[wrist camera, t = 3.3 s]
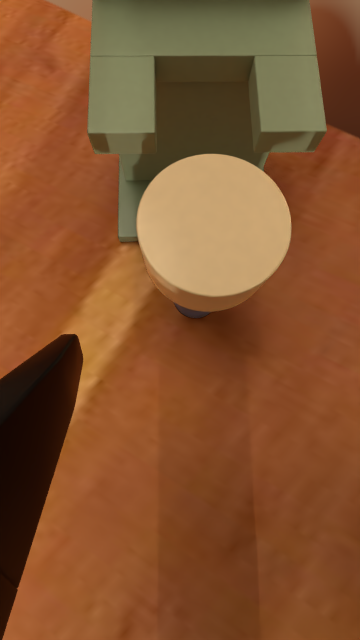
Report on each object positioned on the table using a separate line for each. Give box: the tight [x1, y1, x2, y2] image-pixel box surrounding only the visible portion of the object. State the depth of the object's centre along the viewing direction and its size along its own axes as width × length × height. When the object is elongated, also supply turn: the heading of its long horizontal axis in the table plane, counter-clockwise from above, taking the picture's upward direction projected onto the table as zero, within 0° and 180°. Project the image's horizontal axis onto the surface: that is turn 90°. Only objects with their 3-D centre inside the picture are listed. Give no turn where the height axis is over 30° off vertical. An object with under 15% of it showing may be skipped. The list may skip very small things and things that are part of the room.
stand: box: [87, 0, 327, 242], centre depth 16 cm, size 8×11×13 cm
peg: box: [136, 154, 291, 318], centre depth 16 cm, size 6×6×10 cm
